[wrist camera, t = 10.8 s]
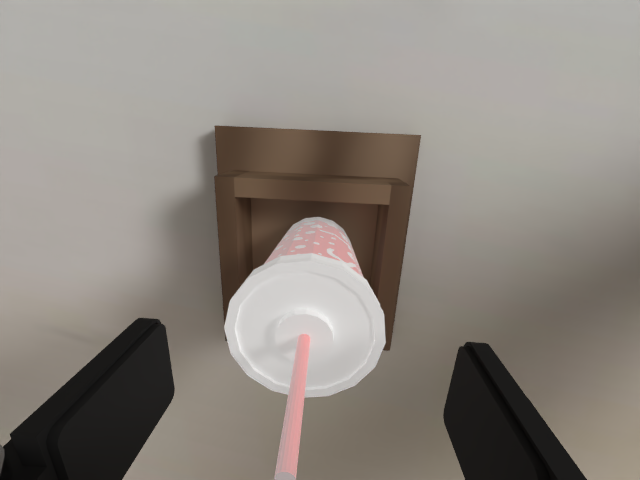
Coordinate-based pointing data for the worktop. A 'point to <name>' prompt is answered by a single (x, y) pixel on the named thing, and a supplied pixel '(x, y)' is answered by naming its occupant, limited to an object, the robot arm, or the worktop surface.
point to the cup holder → (314, 199)
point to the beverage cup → (306, 324)
